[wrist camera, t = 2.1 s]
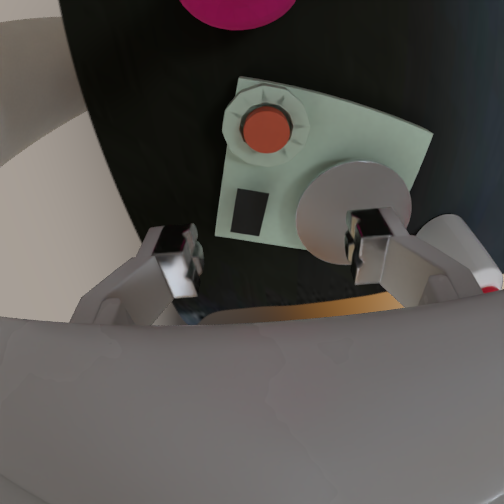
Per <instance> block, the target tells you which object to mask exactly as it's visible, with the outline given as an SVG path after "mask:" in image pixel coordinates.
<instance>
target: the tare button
mask: <svg viewBox="0 0 504 504" xmlns="http://www.w3.org/2000/svg"><path fill="white" fill-rule="evenodd" d="M243 135H244V139H245V141H246V143H247V144H248V145H249V147H251V148H252V149H253V150H255V151H257V152H260V153H274V152H277V151H279V150H280V149H282V148H283V147H284V146H285V145H286V143H287V142H288V140H289V137H290V128H289V124H288V121H287V119H286V117H285V115H284V114H283V113H282V112H281V111H280V110H278V109H276V108H274V107H269V106H263V107H259V108H256V109H254V110H253V111H252V112H250V113H249V115H248V116H247V118H246V120H245V124H244V130H243Z"/></svg>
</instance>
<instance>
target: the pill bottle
mask: <svg viewBox="0 0 504 504" xmlns="http://www.w3.org/2000/svg"><path fill="white" fill-rule="evenodd" d="M416 237H418V238H420V239H421V240H423V241H425V242H427V243H428V244H430V245H432V246H433V247H435V248H437V249H438V250H440V251H442V252H443V253H445V254H446V255H448V256H450V257H451V258H453V259H454V260H456V261H458V262H459V263H461V264H462V265H464V266H465V267H467V268H469V269H470V271H471V272H472V274H473V276H474V277H475V279H476V281H477V282H478V284H479V286H480V287H481V289H482V291H483V293H489V292H494V291H498V290H501V288H502V284H503V276H502V273H501V271H500V269H499V268H498V266H497V265H496V263H495V262H494V260H493V259H492V258H491V256H490V255H489V253H488V252H487V250H486V249H485V248H484V246H483V245H482V244H481V242H480V241H479V239H478V238H477V237H476V236H475V234H474V233H473V232H472V230H471V229H470V228H469V226H468V225H467V224H466V223H465V221H464V220H463V219H462V218H461V217H459V216H457V215H453V214H445V215H441V216H438V217H436V218H434V219H432V220H431V221H429V222H428V223H427V224H425V225H424V226H423V227H422V228H421V229H420V231H419V232H418V233H417V235H416Z"/></svg>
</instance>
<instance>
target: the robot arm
mask: <svg viewBox="0 0 504 504" xmlns="http://www.w3.org/2000/svg"><path fill="white" fill-rule="evenodd" d="M346 224H347V227H348V230H347V231H346V232H345V239H344V244H345V253H346V257H347V261H349V262H350V263H351V273H352V277H353V280H354V283H355V285H360V284H373V283H380V285H381V286H382V287H384V288H385V289H386V290H387V291H388V292H389V293H390V294H391V295H392V296H393V297H394V298H395V299H396V300H397V301H399V302H400V303H401V304H402V305H403V306H404V307H405V308H400V309H393V310H387V311H378V312H370V313H362V314H353V315H345V316H335V317H324V318H315V319H303V320H290V321H276V322H261V323H243V324H220V325H180V326H179V325H178V326H177V325H175V326H174V325H173V326H151V325H152V324H153V323H154V321H155V320H156V319H157V318H158V317H159V315H160V314H161V313H162V312H163V311H164V310H165V308H166V307H167V306H168V305H169V304H170V303H171V302H172V300H173V298H183V297H197V296H198V292H199V287H200V282H201V281H200V278H199V275H200V274H201V273H202V272H203V267H204V255H203V250H202V246H201V244H200V243H198V242H197V241H196V240H197V236H198V232H197V229H196V226H195V225H194V224H193V223H190V224H179V225H168V226H158V227H152V228H150V229H149V231H148V233H147V235H146V237H145V239H144V241H143V243H142V245H141V247H140V249H139V251H138V254H137V256H136V257H134V258H131V259H129V260H128V261H127V262H126V263H124V264H123V265H122V266H120V267H119V268H118V269H116V270H115V271H114V272H113V273H111V274H110V275H109V276H107V277H106V278H105V279H104V280H102V281H101V282H100V283H99V284H98V285H96V286H95V287H94V288H93V289H91V290H90V291H89V292H88V293H86V294H85V295H84V296H83V297H81V299H80V301H79V303H78V305H77V307H76V309H75V312H74V314H73V316H72V318H71V320H70V322H69V323H65V322H64V323H63V322H50V321H38V320H27V319H17V318H7V317H0V504H504V289H503V290H498V291H494V292H489V293H483V291H482V289H481V287H480V286H479V284H478V282H477V281H476V279H475V277H474V276H473V274H472V272H471V271H470V269H469V268H467V267H465V266H464V265H462V264H461V263H459V262H458V261H456V260H454V259H453V258H451V257H450V256H448V255H446V254H445V253H443V252H442V251H440V250H438V249H437V248H435V247H433V246H432V245H430V244H428V243H427V242H425V241H423V240H421V239H420V238H418V237H416V236H414V235H409V233H408V232H407V230H406V229H405V227H404V225H403V224H402V222H401V221H400V219H399V217H398V216H397V214H396V213H395V211H394V210H393V208H391V207H382V208H372V209H360V210H349V211H347V214H346Z"/></svg>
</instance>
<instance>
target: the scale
mask: <svg viewBox="0 0 504 504" xmlns="http://www.w3.org/2000/svg"><path fill="white" fill-rule="evenodd" d="M263 106H269V107H274V108H276V109H278V110H280V111H281V112H282V113H283V114H284V115H285V117H286V119H287V121H288V124H289V128H290V137H289V140H288V142H287V143H286V145H285V146H284V147H283V148H282V149H280V150H279V151H277V152H274V153H260V152H257V151H255V150H253V149H252V148H251V147H249V145H248V144H247V143H246V141H245V139H244V135H243V130H244V124H245V120H246V118H247V116H248V115H249V113H250V112H252V111H253V110H254V109H256V108H259V107H263ZM222 133H223V135H224V138H225V140H226V142H227V150H226V157H225V164H224V171H223V178H222V185H221V192H220V199H219V207H218V214H217V222H216V230H215V236H221V237H227V238H234V239H240V240H247V241H253V242H260V243H266V244H272V245H279V246H285V247H291V248H298V249H304V250H307V249H306V248H305V246H304V245H303V244H302V242H301V241H300V239H299V236H298V234H297V230H296V224H295V212H296V207H297V203H298V201H299V198H300V196H301V194H302V192H303V190H304V189H305V188H306V186H307V185H308V184H309V183H310V182H311V181H312V179H313V178H314V177H316V176H317V175H318V174H319V173H321V172H322V171H324V170H325V169H327V168H328V167H331V166H333V165H335V164H337V163H341V162H344V161H348V160H356V159H365V160H372V161H377V162H379V163H382V164H385V165H386V166H388V167H390V168H391V169H393V170H394V171H395V172H396V173H397V174H398V175H399V176H400V177H401V178H402V179H403V181H404V182H405V184H406V186H407V188H408V190H409V192H410V189H411V187H412V185H413V183H414V180H415V178H416V176H417V173H418V171H419V169H420V166H421V164H422V161H423V159H424V157H425V154H426V152H427V149H428V147H429V144H430V141H431V139H432V136H433V133H431V132H430V131H428V130H427V129H425V128H423V127H421V126H418V125H416V124H414V123H411V122H409V121H406V120H404V119H401V118H399V117H396V116H393V115H391V114H388V113H385V112H382V111H380V110H377V109H374V108H371V107H368V106H365V105H362V104H359V103H356V102H352V101H349V100H346V99H342V98H339V97H336V96H332V95H328V94H325V93H321V92H317V91H313V90H309V89H305V88H301V87H296V86H292V85H287V84H282V83H277V82H272V81H267V80H261V79H255V78H249V77H243V76H240V77H239V78H238V84H237V89H236V95H235V97H234V98H233V100H232V101H231V102H230V103H229V104H228V106H227V108H226V110H225V113H224V120H223V126H222ZM237 188H240V189H246V190H252V191H258V192H264V193H269V197H268V202H267V206H266V210H265V214H264V218H263V223H262V227H261V231H260V235H259V236H253V235H246V234H240V233H233V232H230V230H231V224H232V218H233V212H234V206H235V200H236V194H237Z"/></svg>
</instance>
